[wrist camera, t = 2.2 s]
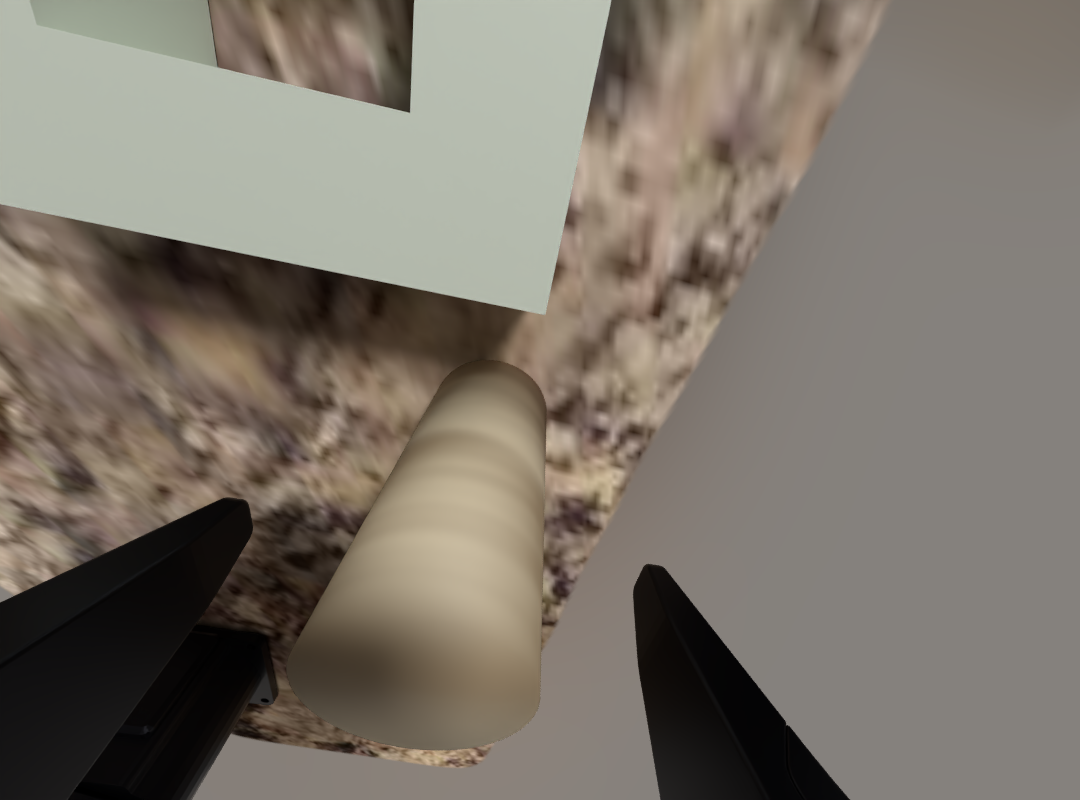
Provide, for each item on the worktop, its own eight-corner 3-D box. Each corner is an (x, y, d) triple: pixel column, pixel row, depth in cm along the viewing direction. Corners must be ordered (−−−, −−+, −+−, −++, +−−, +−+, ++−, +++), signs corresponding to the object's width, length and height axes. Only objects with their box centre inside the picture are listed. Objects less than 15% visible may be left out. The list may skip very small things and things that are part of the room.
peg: (534, 464, 15) (517, 761, 7) (431, 446, 15) (298, 734, 7) (557, 372, 13) (565, 638, 6) (440, 349, 13) (270, 594, 5)
